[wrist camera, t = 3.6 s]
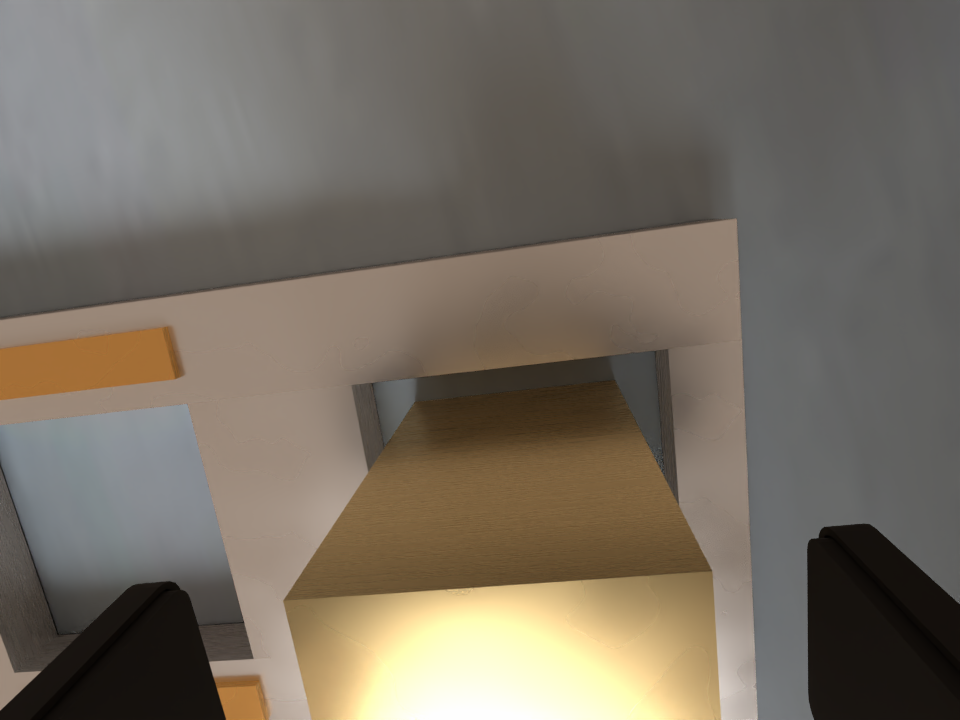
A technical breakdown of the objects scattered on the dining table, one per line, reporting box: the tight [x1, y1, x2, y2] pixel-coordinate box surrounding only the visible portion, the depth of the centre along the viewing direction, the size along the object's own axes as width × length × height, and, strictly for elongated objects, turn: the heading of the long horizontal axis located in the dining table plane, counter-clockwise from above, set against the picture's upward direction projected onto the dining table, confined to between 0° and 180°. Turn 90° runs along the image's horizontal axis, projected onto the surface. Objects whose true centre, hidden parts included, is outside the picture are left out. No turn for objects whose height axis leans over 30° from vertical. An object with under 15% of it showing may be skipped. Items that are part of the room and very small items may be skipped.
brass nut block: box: [283, 380, 721, 720], centre depth 11 cm, size 5×5×8 cm
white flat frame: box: [0, 219, 758, 720], centre depth 15 cm, size 21×12×2 cm, turn 98°
